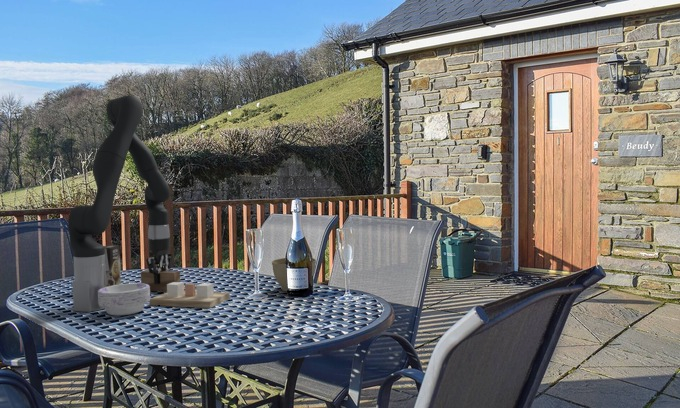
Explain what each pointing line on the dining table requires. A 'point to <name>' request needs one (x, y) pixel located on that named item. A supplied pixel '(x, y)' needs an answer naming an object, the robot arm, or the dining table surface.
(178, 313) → the dining table surface
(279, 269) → the planter bowl
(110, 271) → the coffee box
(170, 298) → the display stand
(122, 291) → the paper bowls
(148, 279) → the walnut bar
